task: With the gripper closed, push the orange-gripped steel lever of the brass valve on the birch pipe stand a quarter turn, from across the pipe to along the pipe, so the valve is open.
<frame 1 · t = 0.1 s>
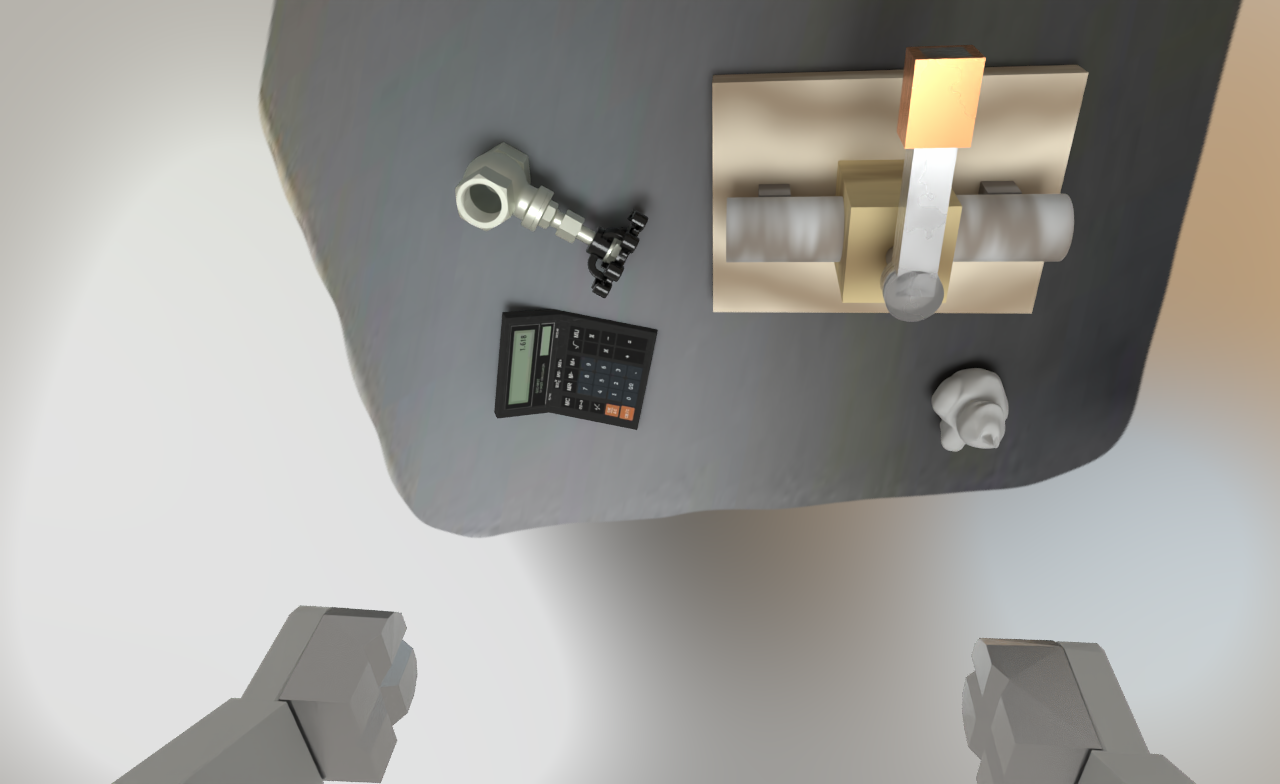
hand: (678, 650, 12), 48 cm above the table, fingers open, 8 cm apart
calculator: (576, 362, 67), on the table
valve stand: (877, 193, 56), on the table
valve lever: (924, 194, 42), point 14 cm above the table, hinge at 0.0°
white meringue swirl: (961, 390, 65), on the table
valve: (557, 195, 59), on the table
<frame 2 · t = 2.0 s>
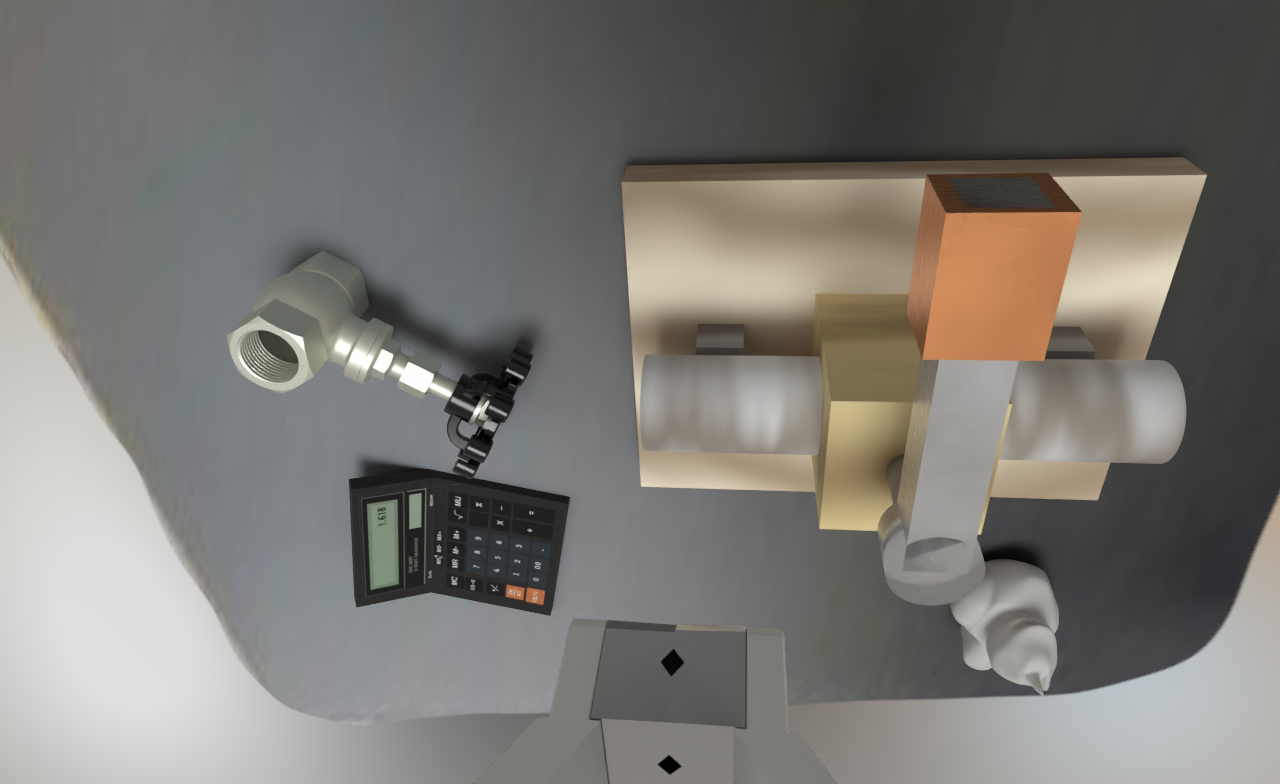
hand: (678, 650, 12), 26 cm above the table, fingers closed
calculator: (465, 530, 49), on the table
valve stand: (874, 332, 39), on the table
valve lever: (955, 417, 24), point 14 cm above the table, hinge at 0.0°
white meringue swirl: (990, 579, 47), on the table
valve: (409, 321, 41), on the table
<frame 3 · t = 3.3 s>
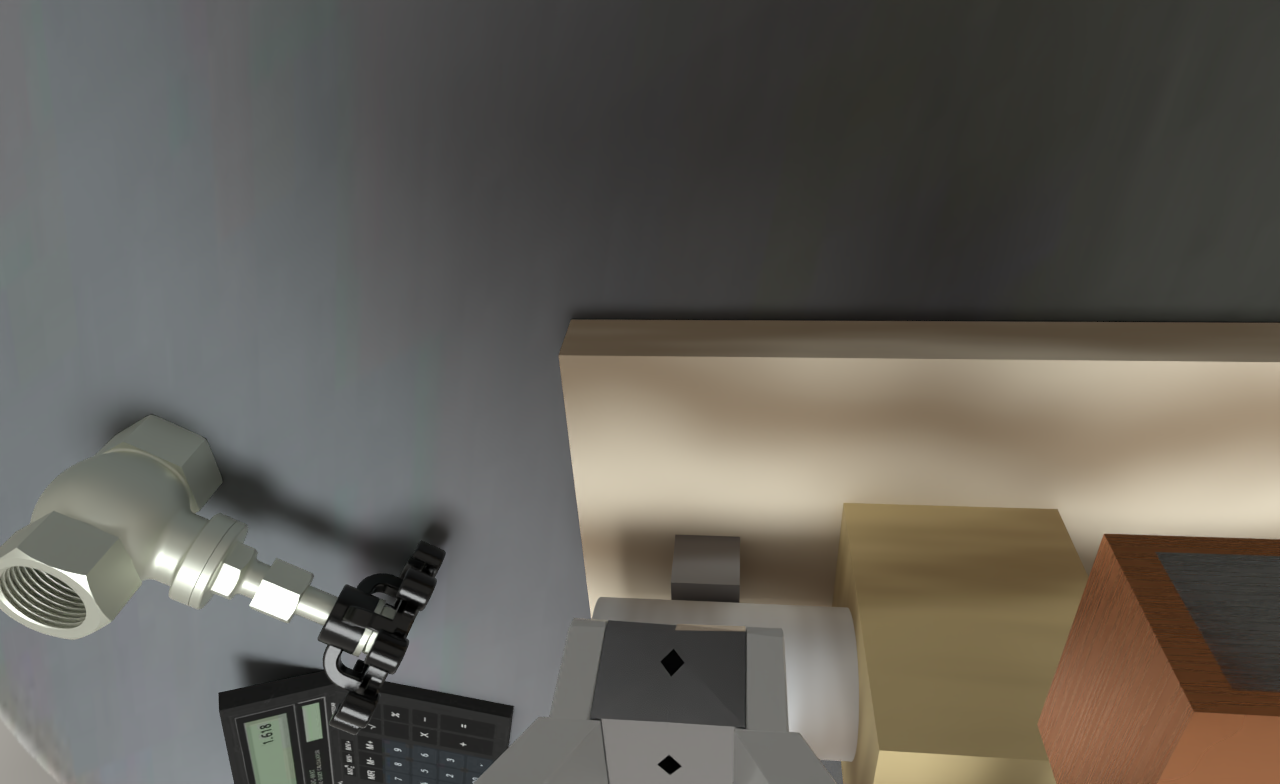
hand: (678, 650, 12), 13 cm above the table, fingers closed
calculator: (383, 733, 38), on the table
valve stand: (922, 533, 28), on the table
valve: (281, 499, 30), on the table
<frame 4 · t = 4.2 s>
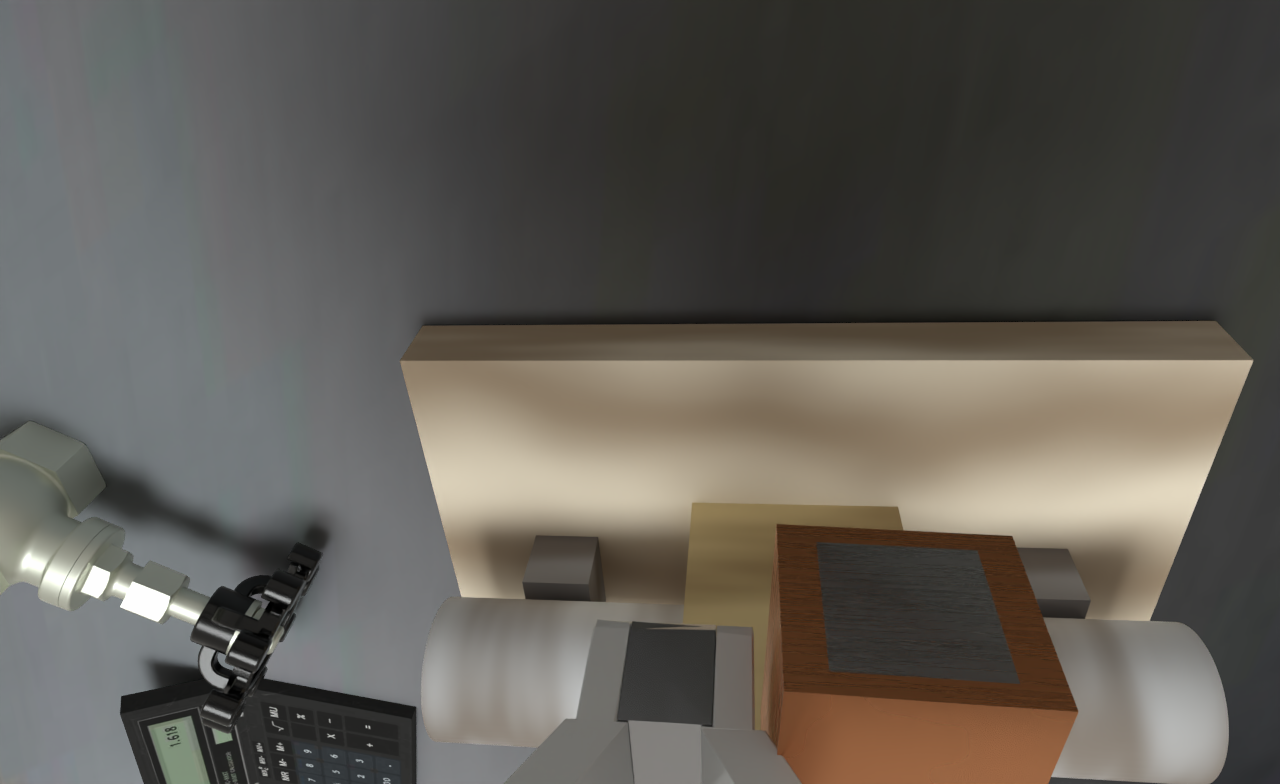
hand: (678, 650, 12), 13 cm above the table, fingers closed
calculator: (296, 735, 39), on the table
valve stand: (787, 532, 28), on the table
valve: (166, 503, 31), on the table
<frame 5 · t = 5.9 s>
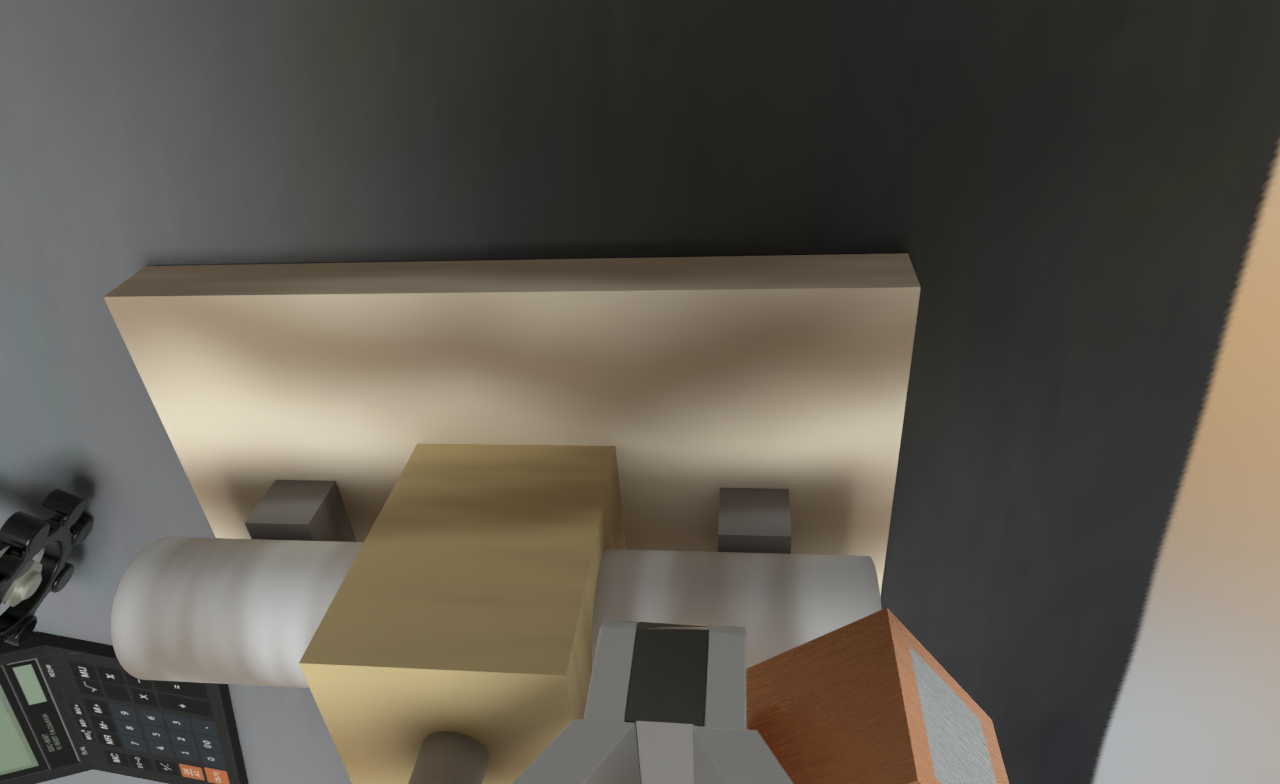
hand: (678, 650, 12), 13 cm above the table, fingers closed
calculator: (119, 698, 39), on the table
valve stand: (541, 480, 28), on the table
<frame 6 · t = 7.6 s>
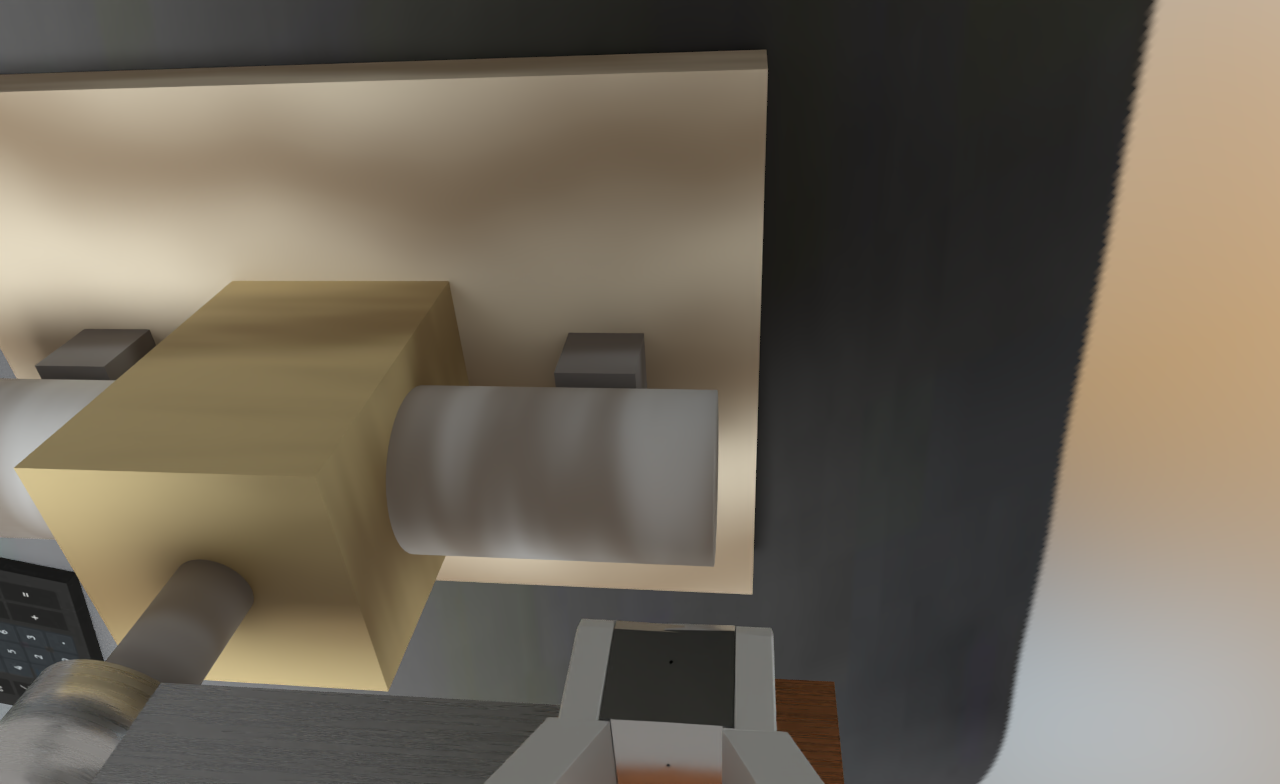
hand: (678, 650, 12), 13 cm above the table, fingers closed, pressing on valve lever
valve stand: (390, 342, 25), on the table
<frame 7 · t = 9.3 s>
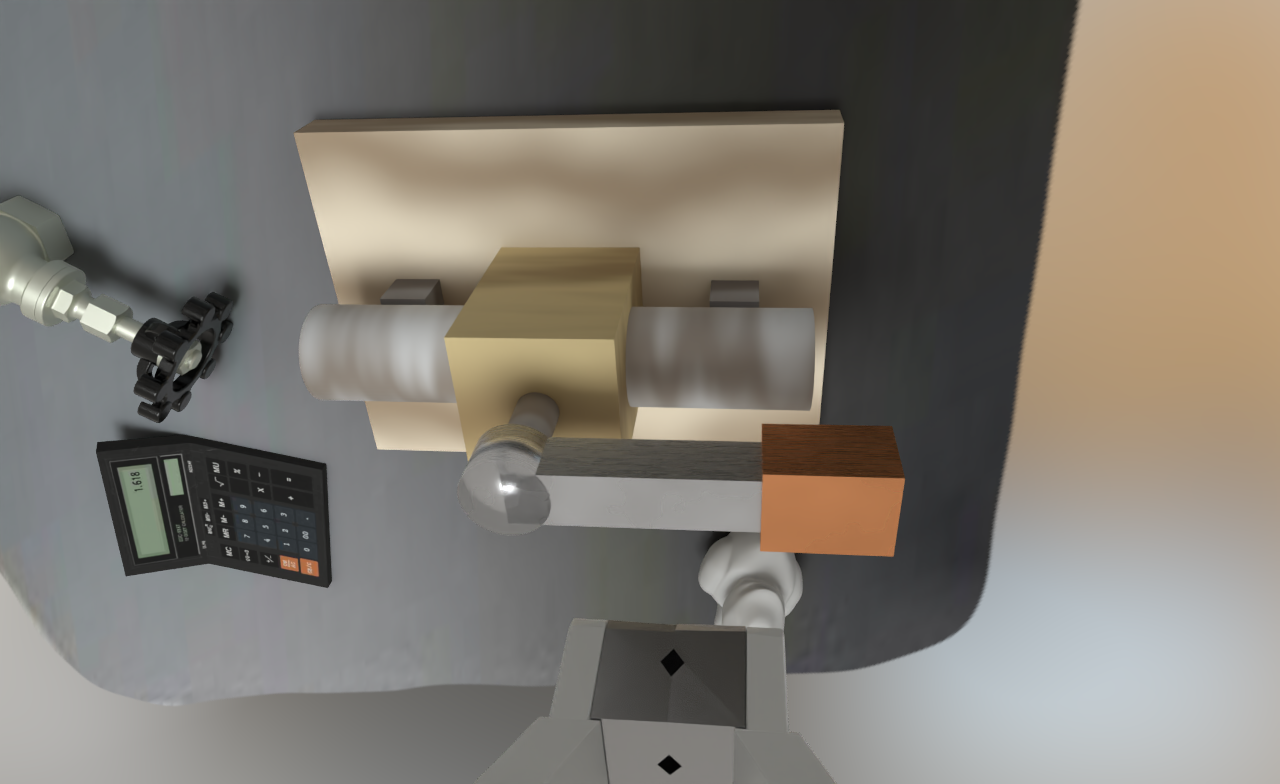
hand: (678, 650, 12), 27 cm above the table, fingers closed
calculator: (236, 500, 49), on the table
valve stand: (583, 291, 39), on the table
valve lever: (673, 484, 26), point 14 cm above the table, hinge at 89.7°
white meringue swirl: (749, 550, 47), on the table
valve: (118, 269, 41), on the table
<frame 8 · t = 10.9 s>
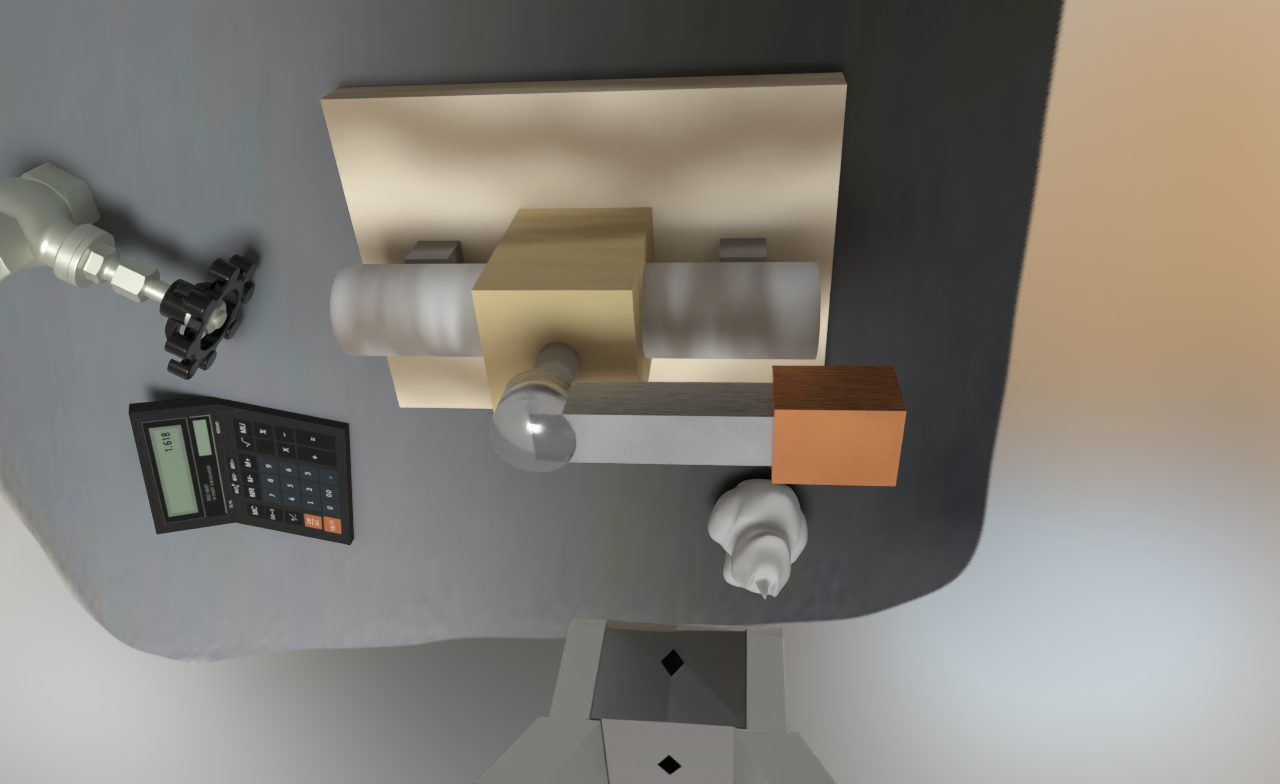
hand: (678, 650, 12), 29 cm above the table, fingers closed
calculator: (261, 460, 51), on the table
valve stand: (596, 251, 41), on the table
valve lever: (690, 422, 28), point 14 cm above the table, hinge at 89.7°
white meringue swirl: (755, 502, 49), on the table
valve: (144, 234, 43), on the table
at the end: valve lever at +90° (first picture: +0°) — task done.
